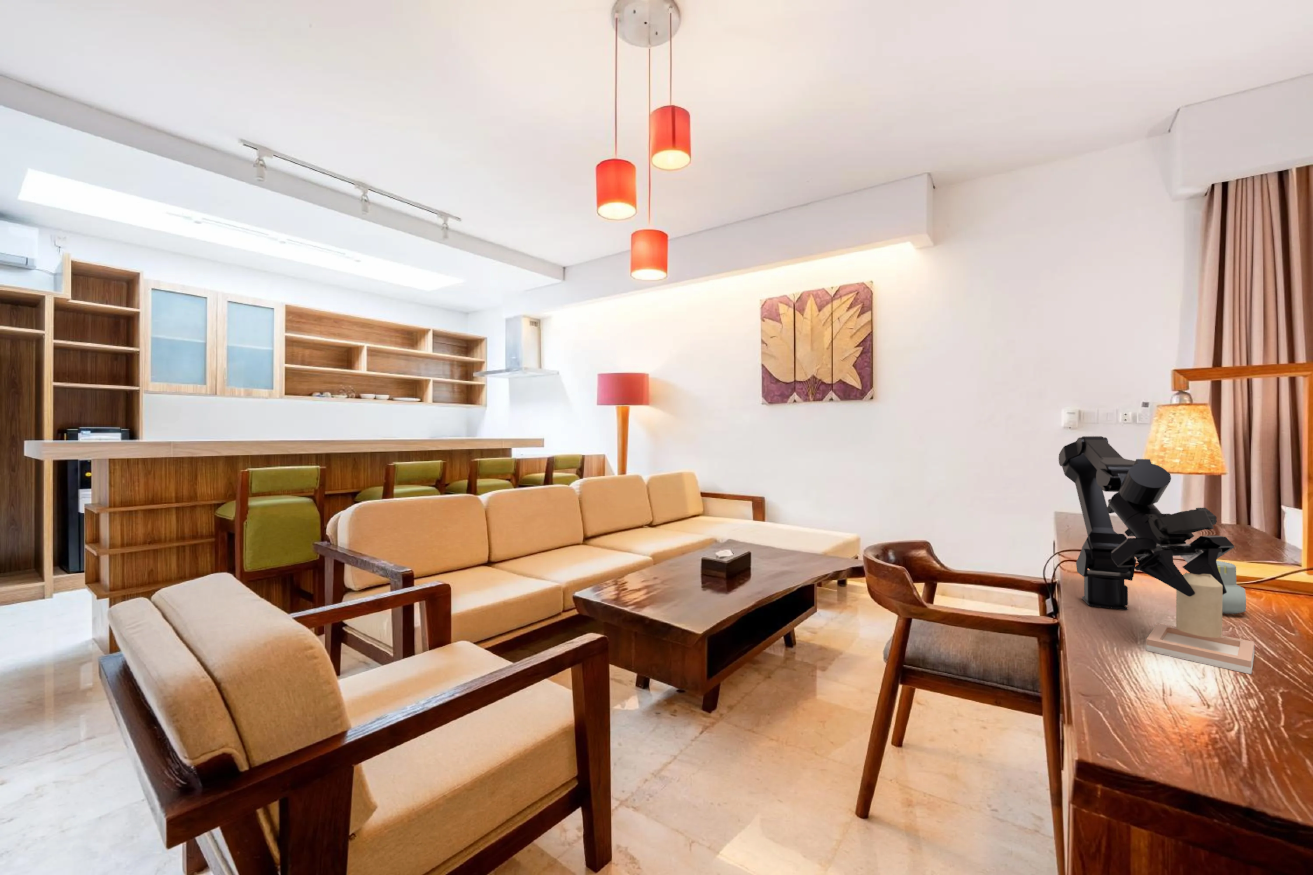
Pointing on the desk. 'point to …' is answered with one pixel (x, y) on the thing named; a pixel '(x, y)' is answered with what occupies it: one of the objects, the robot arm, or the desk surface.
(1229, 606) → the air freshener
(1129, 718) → the desk surface
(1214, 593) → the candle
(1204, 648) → the tray
